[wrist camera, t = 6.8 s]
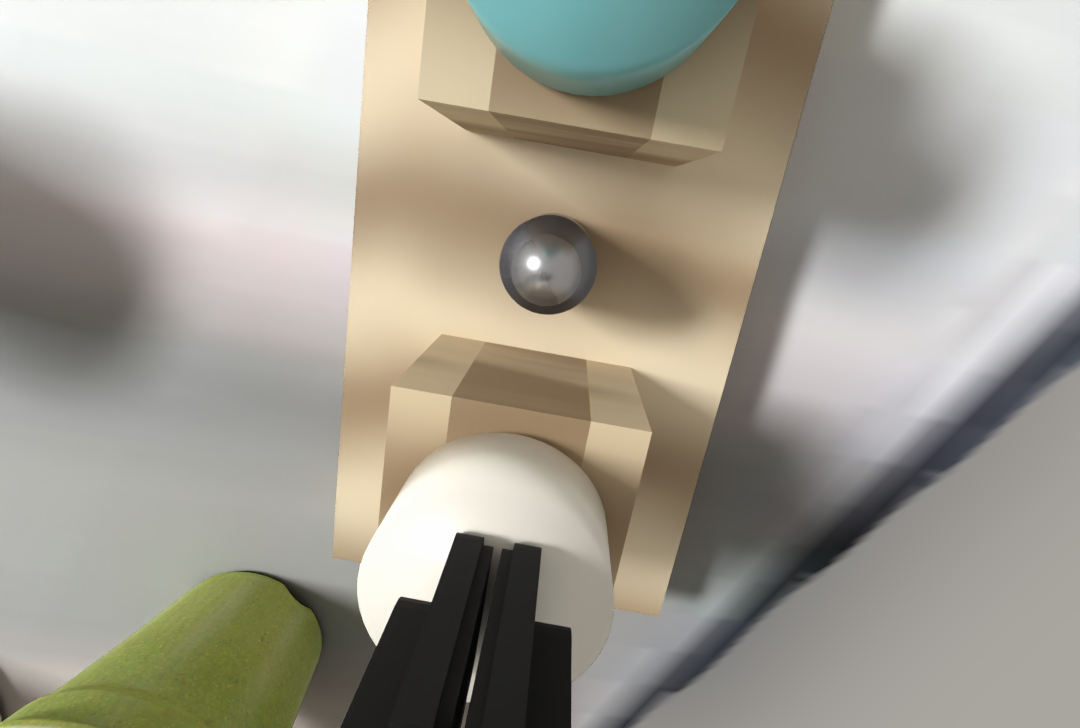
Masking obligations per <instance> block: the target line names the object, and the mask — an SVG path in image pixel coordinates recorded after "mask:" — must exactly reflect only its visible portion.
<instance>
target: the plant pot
mask: <svg viewBox="0 0 1080 728" xmlns="http://www.w3.org/2000/svg"><path fill="white" fill-rule="evenodd" d="M321 649H322V636H321V631H320V627H319V624H318V621H317V619H316V617H315V615H314V613H313V612H312V610H311V609H309V608H308V607H305V606H303V605H301V604H300V603H299V602H298V601H296V600H295V599H294V598H293V596H292V595H291V594H290V592H289V591H288V589H287V588H286V587H285V585H284V584H282V583H280V582H278V581H276V580H274V579H272V578H270V577H267V576H264V575H260V574H256V573H251V572H227V573H221V574H218V575H215V576H212V577H210V578H208V579H207V580H205V581H203V582H201V583H200V584H198V585H196V586H195V587H194V588H192V589H191V590H190V591H188V592H187V593H186V594H184V595H183V596H182V597H181V598H179V599H178V600H177V601H175V602H174V603H173V604H171V605H170V606H169V607H168V608H166V609H165V610H164V611H162V612H161V613H160V614H158V615H157V616H156V617H155V618H153V619H152V620H151V621H149V622H148V623H147V624H145V625H144V626H143V627H142V628H140V629H139V630H138V631H136V632H135V633H134V634H132V635H131V636H130V637H128V638H127V639H126V640H124V641H123V642H122V643H120V644H119V645H117V646H116V647H115V648H113V649H112V650H111V651H109V652H108V653H107V654H105V655H104V656H103V657H101V658H100V659H99V660H97V661H96V662H94V663H93V664H92V665H90V666H89V667H88V668H86V669H85V670H84V671H82V672H81V673H80V674H78V675H77V676H76V677H74V678H73V679H71V680H70V681H69V682H67V683H66V684H65V685H63V686H62V687H61V688H59V689H58V690H56V691H55V692H54V693H51V694H48V695H45V696H43V697H40V698H38V699H36V700H34V701H32V702H30V703H29V704H27V705H25V706H24V707H22V708H21V709H19V710H18V711H17V712H15V713H14V714H12V715H11V716H10V717H8V718H7V719H5V720H4V721H2V722H0V728H292V727H293V724H294V721H295V719H296V716H297V714H298V711H299V709H300V706H301V704H302V701H303V699H304V696H305V694H306V691H307V689H308V686H309V683H310V681H311V678H312V676H313V673H314V671H315V668H316V666H317V663H318V661H319V658H320V654H321Z"/></svg>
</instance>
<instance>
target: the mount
mask: <svg viewBox="0 0 1080 728" xmlns="http://www.w3.org/2000/svg"><path fill="white" fill-rule="evenodd" d="M833 1H834V0H738V1H737V2H736V4H735V5H734V6H733V7H732V8H731V10H730V11H729V12H728V13H727V15H726V16H725V17H724V18H723V19H722V21H721V22H720V23H719V24H718V25H717V27H716V28H715V29H714V30H713V31H712V33H711V34H710V35H709V36H708V37H707V39H706V40H705V41H704V42H703V43H702V44H701V45H700V46H699V48H698V49H697V50H696V51H695V52H694V53H693V54H692V55H691V56H690V57H689V58H688V59H686V60H685V61H684V62H683V63H682V64H681V65H679V66H678V67H677V68H676V69H674V70H673V71H671V72H670V73H668V74H667V75H665V76H664V77H662V78H660V79H658V80H656V81H654V82H652V83H650V84H648V85H646V86H644V87H641V88H638V89H635V90H632V91H629V92H625V93H620V94H615V95H609V96H584V95H574V94H570V93H566V92H562V91H558V90H555V89H553V88H550V87H548V86H545V85H543V84H541V83H539V82H537V81H535V80H534V79H532V78H530V77H529V76H527V75H525V74H524V73H523V72H521V71H520V70H519V69H518V68H516V67H515V66H514V65H512V64H511V63H510V62H509V61H508V60H507V59H506V58H505V57H504V56H503V55H502V54H501V53H500V52H499V51H498V49H497V48H496V47H495V45H494V44H493V43H492V41H491V40H490V39H489V37H488V36H487V35H486V33H485V31H484V30H483V28H482V26H481V24H480V23H479V21H478V19H477V17H476V16H475V14H474V12H473V10H472V8H471V6H470V4H469V2H468V1H467V0H368V15H367V30H366V46H365V61H364V76H363V92H362V107H361V123H360V138H359V154H358V169H357V184H356V200H355V215H354V231H353V246H352V262H351V277H350V293H349V308H348V323H347V339H346V354H345V370H344V385H343V401H342V416H341V431H340V447H339V462H338V478H337V493H336V509H335V524H334V539H333V555H332V557H333V558H338V559H344V560H349V561H355V562H360V563H361V561H362V558H363V555H364V553H365V551H366V549H367V547H368V545H369V543H370V541H371V539H372V538H373V536H374V534H375V533H376V531H377V529H378V528H379V526H380V524H381V523H382V521H383V519H384V518H385V516H386V514H387V512H388V511H389V509H390V507H391V506H392V504H393V502H394V501H395V499H396V497H397V496H398V494H399V492H400V491H401V489H402V487H403V486H404V484H405V482H406V481H407V479H408V477H409V476H410V474H411V473H412V472H413V470H414V469H415V467H416V466H417V465H418V464H419V463H420V462H421V461H422V460H423V459H424V458H425V457H426V456H428V455H429V454H430V453H432V452H433V451H434V450H436V449H437V448H439V447H441V446H443V445H444V444H446V443H448V442H451V441H453V440H456V439H458V438H461V437H465V436H469V435H473V434H480V433H492V432H503V433H511V434H518V435H522V436H526V437H531V438H533V439H536V440H539V441H541V442H544V443H546V444H548V445H550V446H552V447H554V448H556V449H558V450H559V451H561V452H562V453H563V454H565V455H566V456H568V457H569V458H570V459H571V460H573V461H574V462H575V463H576V464H577V465H578V466H579V467H580V468H581V469H582V470H583V471H584V473H585V474H586V475H587V476H588V477H589V479H590V480H591V482H592V483H593V485H594V486H595V488H596V490H597V492H598V494H599V497H600V499H601V501H602V505H603V508H604V511H605V518H606V525H607V534H608V544H609V554H610V564H611V574H612V583H613V593H614V609H620V610H625V611H631V612H637V613H642V614H648V615H653V616H659V615H660V611H661V608H662V604H663V601H664V597H665V594H666V590H667V586H668V583H669V579H670V576H671V572H672V569H673V565H674V562H675V558H676V555H677V551H678V548H679V544H680V541H681V537H682V534H683V530H684V526H685V523H686V519H687V516H688V512H689V509H690V505H691V502H692V498H693V495H694V491H695V488H696V484H697V481H698V477H699V474H700V470H701V467H702V463H703V459H704V456H705V452H706V449H707V445H708V442H709V438H710V435H711V431H712V428H713V424H714V421H715V417H716V414H717V410H718V407H719V403H720V400H721V396H722V392H723V389H724V385H725V382H726V378H727V375H728V371H729V368H730V364H731V361H732V357H733V354H734V350H735V347H736V343H737V340H738V336H739V333H740V329H741V325H742V322H743V318H744V315H745V311H746V308H747V304H748V301H749V297H750V294H751V290H752V287H753V283H754V280H755V276H756V273H757V269H758V266H759V262H760V258H761V255H762V251H763V248H764V244H765V241H766V237H767V234H768V230H769V227H770V223H771V220H772V216H773V213H774V209H775V206H776V202H777V199H778V195H779V191H780V188H781V184H782V181H783V177H784V174H785V170H786V167H787V163H788V160H789V156H790V153H791V149H792V146H793V142H794V139H795V135H796V132H797V128H798V124H799V121H800V117H801V114H802V110H803V107H804V103H805V100H806V96H807V93H808V89H809V86H810V82H811V79H812V75H813V72H814V68H815V64H816V61H817V57H818V54H819V50H820V47H821V43H822V40H823V36H824V33H825V29H826V26H827V22H828V19H829V15H830V12H831V8H832V5H833ZM547 213H558V214H563V215H566V216H568V217H571V218H572V219H574V220H576V221H577V222H578V223H579V224H580V225H581V226H582V227H583V228H584V229H585V231H586V232H587V234H588V236H589V238H590V240H591V242H592V245H593V247H594V249H595V253H596V258H597V273H596V278H595V281H594V284H593V286H592V288H591V290H590V292H589V293H588V295H587V296H586V297H585V299H584V300H583V301H582V302H581V303H579V304H578V305H577V306H575V307H574V308H572V309H570V310H568V311H566V312H563V313H559V314H553V315H544V314H538V313H534V312H531V311H529V310H526V309H525V308H523V307H521V306H520V305H519V304H517V303H516V302H515V301H514V300H513V299H512V298H511V297H510V295H509V294H508V293H507V291H506V289H505V287H504V285H503V283H502V280H501V276H500V270H499V261H500V255H501V251H502V248H503V245H504V243H505V241H506V239H507V238H508V236H509V235H510V234H511V233H512V232H513V230H514V229H516V228H517V227H518V226H519V225H521V224H522V223H524V222H525V221H528V220H530V219H532V218H534V217H537V216H539V215H542V214H547Z"/></svg>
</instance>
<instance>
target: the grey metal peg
mask: <svg viewBox="0 0 1080 728" xmlns="http://www.w3.org/2000/svg"><path fill="white" fill-rule="evenodd" d="M499 270H500V276H501V280H502V283H503V285H504V287H505V289H506V291H507V293H508V294H509V295H510V297H511V298H512V299H513V300H514V301H515V302H516V303H517V304H519V305H520V306H521V307H523V308H525V309H526V310H529V311H531V312H534V313H538V314H544V315H553V314H559V313H563V312H566V311H568V310H570V309H572V308H574V307H575V306H577V305H578V304H579V303H581V302H582V301H583V300H584V299H585V297H586V296H587V295H588V293H589V292H590V290H591V288H592V286H593V284H594V281H595V278H596V273H597V258H596V253H595V249H594V247H593V245H592V242H591V240H590V238H589V236H588V234H587V232H586V231H585V229H584V228H583V227H582V226H581V225H580V224H579V223H578V222H577V221H576V220H574V219H572V218H571V217H568V216H566V215H563V214H558V213H547V214H542V215H539V216H537V217H534V218H532V219H530V220H528V221H525V222H524V223H522V224H521V225H519V226H518V227H517V228H516V229H514V230H513V232H512V233H511V234H510V235H509V236H508V238H507V239H506V241H505V243H504V245H503V248H502V251H501V255H500V261H499Z"/></svg>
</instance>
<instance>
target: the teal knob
mask: <svg viewBox="0 0 1080 728" xmlns="http://www.w3.org/2000/svg"><path fill="white" fill-rule="evenodd" d="M467 1H468V2H469V4H470V6H471V8H472V10H473V12H474V14H475V16H476V17H477V19H478V21H479V23H480V24H481V26H482V28H483V30H484V31H485V33H486V35H487V36H488V37H489V39H490V40H491V41H492V43H493V44H494V45H495V47H496V48H497V49H498V51H499V52H500V53H501V54H502V55H503V56H504V57H505V58H506V59H507V60H508V61H509V62H510V63H511V64H512V65H514V66H515V67H516V68H518V69H519V70H520V71H521V72H523V73H524V74H525V75H527V76H529V77H530V78H532V79H534V80H535V81H537V82H539V83H541V84H543V85H545V86H548V87H550V88H553V89H555V90H558V91H562V92H566V93H570V94H574V95H584V96H609V95H615V94H620V93H625V92H629V91H632V90H635V89H638V88H641V87H644V86H646V85H648V84H650V83H652V82H654V81H656V80H658V79H660V78H662V77H664V76H665V75H667V74H668V73H670V72H671V71H673V70H674V69H676V68H677V67H678V66H679V65H681V64H682V63H683V62H684V61H685V60H686V59H688V58H689V57H690V56H691V55H692V54H693V53H694V52H695V51H696V50H697V49H698V48H699V46H700V45H701V44H702V43H703V42H704V41H705V40H706V39H707V37H708V36H709V35H710V34H711V33H712V31H713V30H714V29H715V28H716V27H717V25H718V24H719V23H720V22H721V21H722V19H723V18H724V17H725V16H726V15H727V13H728V12H729V11H730V10H731V8H732V7H733V6H734V5H735V4H736V2H737V1H738V0H467Z"/></svg>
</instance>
